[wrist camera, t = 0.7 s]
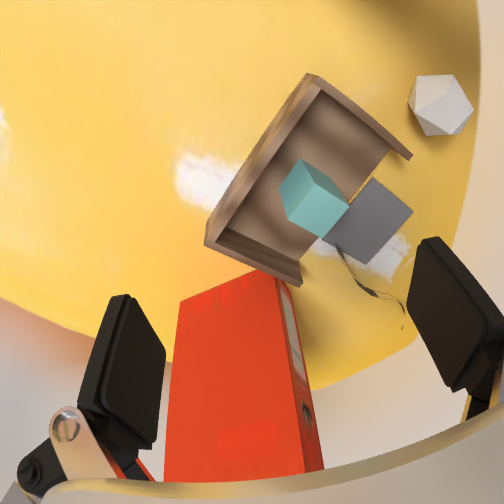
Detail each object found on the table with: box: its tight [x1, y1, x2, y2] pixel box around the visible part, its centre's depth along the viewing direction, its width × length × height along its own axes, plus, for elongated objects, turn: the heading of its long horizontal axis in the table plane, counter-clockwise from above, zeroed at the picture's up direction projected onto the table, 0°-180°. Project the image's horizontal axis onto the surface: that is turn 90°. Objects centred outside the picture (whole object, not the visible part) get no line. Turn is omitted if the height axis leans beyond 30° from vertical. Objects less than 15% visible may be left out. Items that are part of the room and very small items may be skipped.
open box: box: [204, 73, 413, 287], centre depth 37 cm, size 24×15×6 cm, turn 148°
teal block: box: [278, 158, 350, 239], centre depth 36 cm, size 5×5×8 cm
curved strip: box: [335, 243, 406, 330], centre depth 54 cm, size 6×39×4 cm, turn 35°
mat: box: [322, 177, 413, 265], centre depth 44 cm, size 12×10×1 cm
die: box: [408, 75, 474, 136], centre depth 29 cm, size 8×9×10 cm
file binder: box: [164, 270, 324, 483], centre depth 39 cm, size 8×17×32 cm, turn 117°
